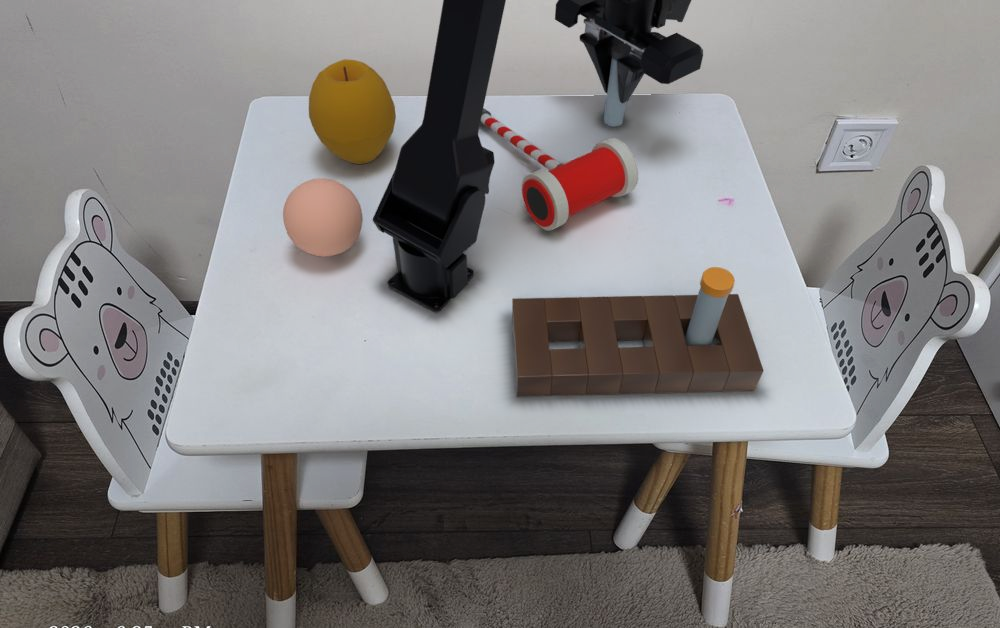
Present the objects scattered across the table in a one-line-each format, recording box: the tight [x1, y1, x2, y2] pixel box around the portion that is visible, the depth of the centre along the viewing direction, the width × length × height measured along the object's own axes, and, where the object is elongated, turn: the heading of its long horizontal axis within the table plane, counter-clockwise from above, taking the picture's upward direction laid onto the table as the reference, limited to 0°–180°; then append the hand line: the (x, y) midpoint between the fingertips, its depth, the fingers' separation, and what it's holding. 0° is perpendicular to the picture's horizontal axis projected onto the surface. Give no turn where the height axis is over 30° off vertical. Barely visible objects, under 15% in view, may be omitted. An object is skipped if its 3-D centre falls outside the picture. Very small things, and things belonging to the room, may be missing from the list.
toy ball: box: [282, 177, 364, 257], centre depth 77 cm, size 8×8×8 cm
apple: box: [308, 58, 397, 165], centre depth 86 cm, size 10×10×12 cm
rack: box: [511, 293, 764, 397], centre depth 70 cm, size 22×9×3 cm, turn 92°
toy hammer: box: [480, 107, 639, 231], centre depth 87 cm, size 23×12×6 cm, turn 35°
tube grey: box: [603, 42, 631, 127], centre depth 92 cm, size 3×3×10 cm
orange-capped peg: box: [685, 266, 736, 346], centre depth 67 cm, size 3×3×10 cm
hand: (616, 96), depth 93 cm, fingers closed on tube grey, 2 cm apart
